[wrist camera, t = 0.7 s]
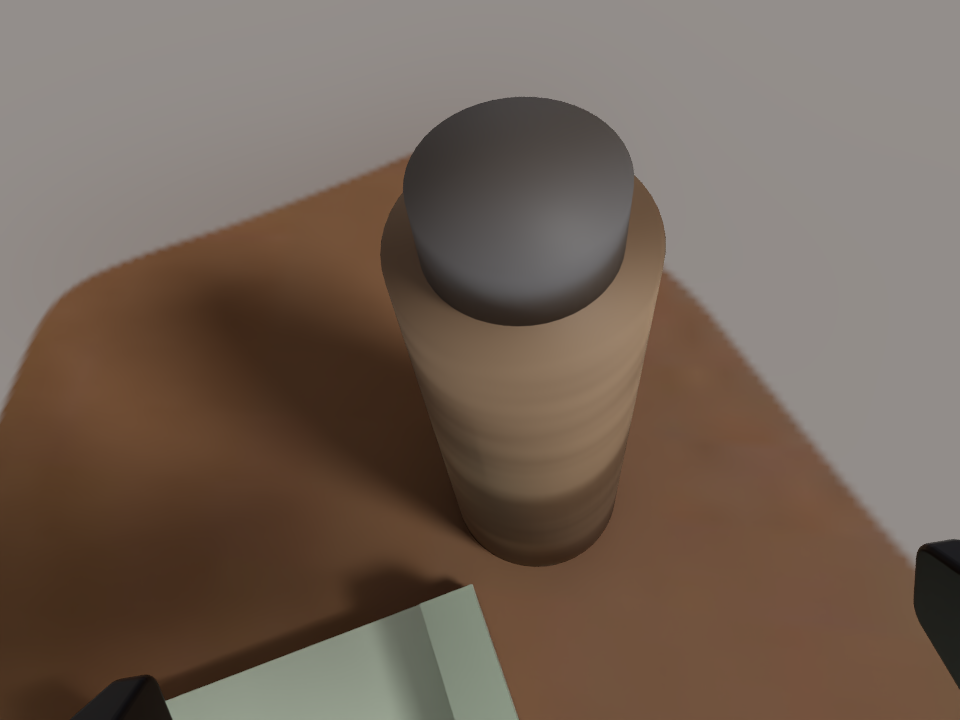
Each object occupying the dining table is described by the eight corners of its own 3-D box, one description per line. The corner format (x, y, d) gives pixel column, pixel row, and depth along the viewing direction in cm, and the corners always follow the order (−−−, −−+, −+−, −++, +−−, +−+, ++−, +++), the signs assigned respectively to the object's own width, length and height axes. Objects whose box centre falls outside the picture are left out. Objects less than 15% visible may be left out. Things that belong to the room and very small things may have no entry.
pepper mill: (642, 532, 24) (739, 242, 11) (488, 591, 24) (412, 355, 11) (577, 396, 27) (598, 38, 14) (437, 447, 26) (328, 121, 14)
